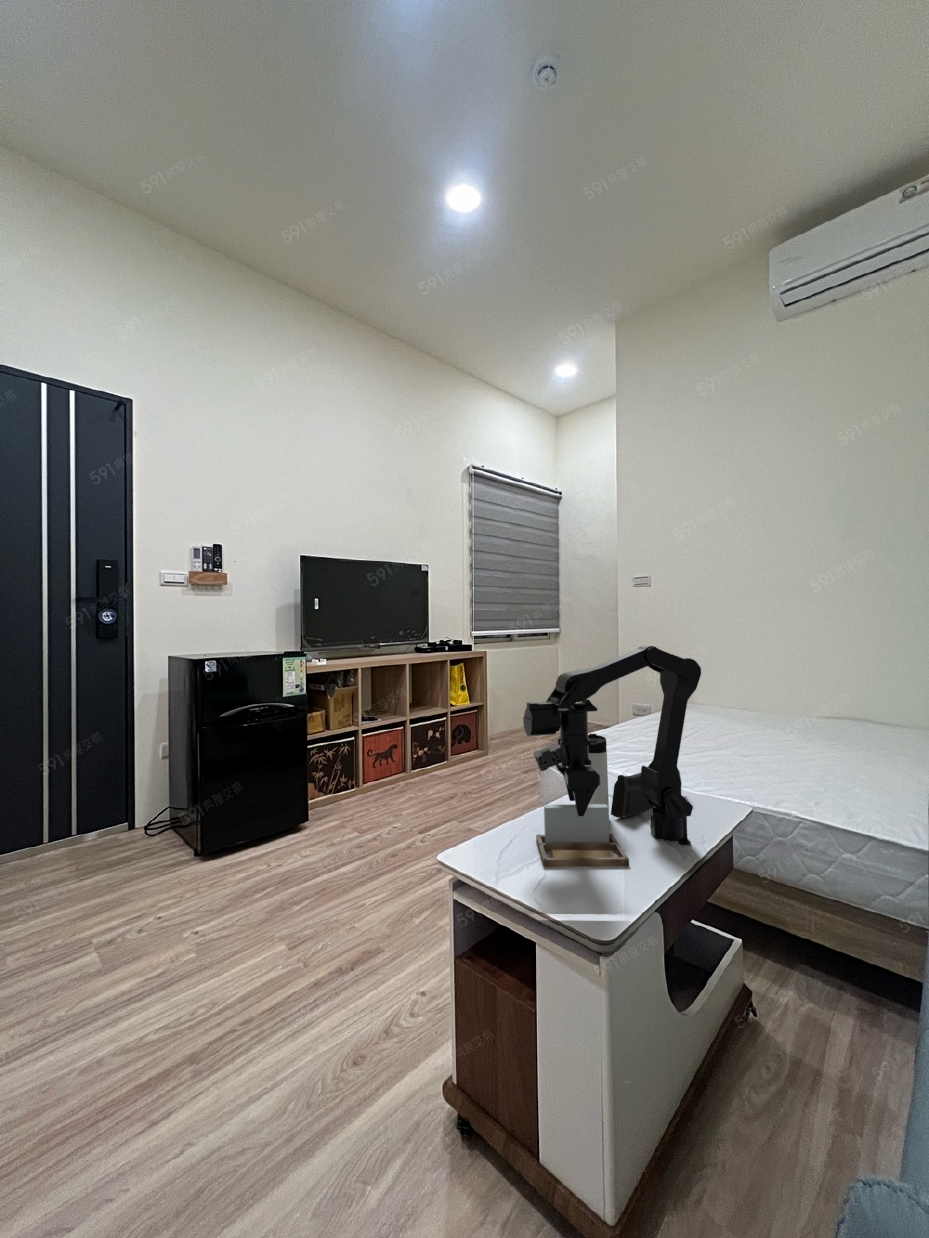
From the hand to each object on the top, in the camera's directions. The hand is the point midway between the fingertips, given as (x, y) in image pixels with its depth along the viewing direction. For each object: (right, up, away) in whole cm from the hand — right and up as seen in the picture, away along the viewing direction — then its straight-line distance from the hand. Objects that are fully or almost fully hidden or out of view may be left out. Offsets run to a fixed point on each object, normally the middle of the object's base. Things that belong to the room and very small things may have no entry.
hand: (576, 808), depth 107 cm
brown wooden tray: (0, -8, -4) cm, 9 cm away
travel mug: (+8, -9, +16) cm, 20 cm away
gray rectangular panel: (0, -9, 0) cm, 9 cm away
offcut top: (0, -8, -6) cm, 10 cm away
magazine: (+24, -9, +25) cm, 36 cm away
